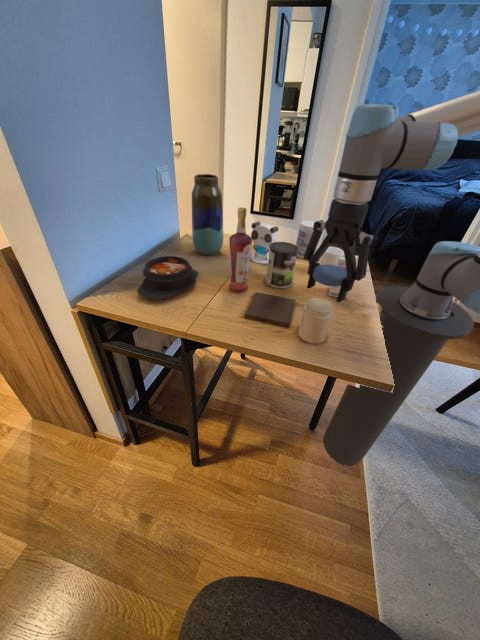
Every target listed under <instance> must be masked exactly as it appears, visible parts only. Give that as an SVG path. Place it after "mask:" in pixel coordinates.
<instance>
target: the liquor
mask: <svg viewBox="0 0 480 640" xmlns="http://www.w3.org/2000/svg"><path fill="white" fill-rule="evenodd" d="M246 217H247V208H246V207H237V226H236V233H233V234H231V235H230V236H229V239H228V240H229V269H230V270H229V271H230V273H229V274H230V282H229V285H228V286H229V288H230V289H231V290H232V291H233V292H236V293H242V292H244V291H246V290H248V287H249V285H248V277H249V276H248V275H249V267H250V260H251V259H250V256H251V254H252V253H251V252H252V242H253V240H252V238H251V235H249V234H248V233H246V231H247V230H246V228H247V227H246Z"/></svg>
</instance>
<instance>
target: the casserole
mask: <svg viewBox="0 0 480 640" xmlns="http://www.w3.org/2000/svg"><path fill="white" fill-rule="evenodd" d="M198 272H199V271H197V270H196V269H194V268H193V267H192V265H191V264H190V263H189V261H188V260H187V259H186V258H184V257H180V256H174V255H171V256H170V255H167V256H165V255H164V256H159V257H156V258H153V259H150V260H149V261H146V263H145V265H144V268H143V269H142V275H143V277H144V279H143V281H142V283H141V285H140V286H139V287H138V288H137V290H136V292H137V293H138V295H139V296H141V297H142V298H143V297H144V298H146V299H150V300H165V299H168V298H170V297H173V296H174V295H179V294H182V293H184V292H186V291H189V290H190V289H192V288H193V287H194V286H195V284H196V281H197V277H198V275H199V273H198Z"/></svg>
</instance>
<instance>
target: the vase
mask: <svg viewBox="0 0 480 640" xmlns="http://www.w3.org/2000/svg"><path fill="white" fill-rule="evenodd" d="M193 178H194V180H193V181H194V186H193V188H192V191H191V236H192V245H193V246H194V248H195V250H196V251H197V252H198V253H199V254H201V255H203V256H214V255H216V254H219V252H220V251H221V249H222V248H223V246H224V245H223V244H224V235H225V234H224V214H223V195H222V191H221V189H220V187H219V176H217V175H215V174H210V173H208V174H207V173H201V174H200V173H199V174H195V175H194V177H193Z"/></svg>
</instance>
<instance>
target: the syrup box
mask: <svg viewBox="0 0 480 640" xmlns="http://www.w3.org/2000/svg"><path fill="white" fill-rule="evenodd" d="M355 258H356V264H357V263H358V255H355ZM337 266H338V267H340V268H343V269H344V270H346V263H345V254H344V253H340V256H339V259H338V262H337ZM340 288H341V286H329V291H328V296H329V297H334V298H338V295H339V292H340Z"/></svg>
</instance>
